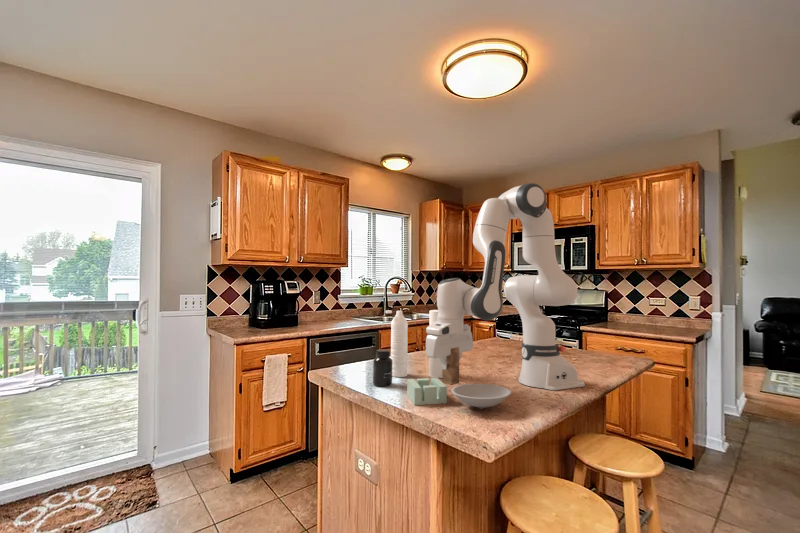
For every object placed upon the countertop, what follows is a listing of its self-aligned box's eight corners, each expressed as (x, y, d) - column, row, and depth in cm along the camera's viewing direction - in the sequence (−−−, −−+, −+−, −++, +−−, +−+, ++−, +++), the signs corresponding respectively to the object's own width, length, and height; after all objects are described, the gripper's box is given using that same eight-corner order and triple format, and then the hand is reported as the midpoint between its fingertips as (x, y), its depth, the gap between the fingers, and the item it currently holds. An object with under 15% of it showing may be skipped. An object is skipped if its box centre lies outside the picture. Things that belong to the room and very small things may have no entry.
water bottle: (404, 372, 149) (405, 309, 149) (409, 377, 142) (409, 311, 143) (383, 374, 146) (383, 309, 147) (387, 378, 140) (387, 311, 141)
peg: (450, 380, 129) (450, 345, 129) (459, 382, 126) (458, 347, 126) (442, 382, 127) (442, 347, 127) (451, 385, 124) (451, 348, 124)
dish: (497, 398, 118) (497, 382, 118) (521, 414, 104) (521, 396, 104) (444, 401, 115) (444, 385, 115) (461, 419, 101) (461, 400, 101)
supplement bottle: (389, 387, 128) (390, 352, 129) (370, 386, 130) (370, 351, 130) (394, 382, 135) (394, 348, 135) (375, 381, 136) (376, 348, 137)
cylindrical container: (448, 378, 141) (448, 311, 142) (429, 378, 141) (430, 311, 142) (446, 373, 148) (446, 310, 149) (428, 373, 148) (428, 309, 149)
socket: (436, 393, 123) (437, 377, 123) (446, 403, 113) (446, 386, 113) (407, 394, 121) (407, 379, 121) (414, 405, 111) (414, 388, 111)
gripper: (463, 322, 136) (463, 360, 136) (422, 328, 122) (422, 371, 122) (477, 324, 131) (477, 363, 131) (436, 330, 118) (436, 375, 117)
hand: (450, 367), depth 126 cm, fingers closed on peg, 4 cm apart
